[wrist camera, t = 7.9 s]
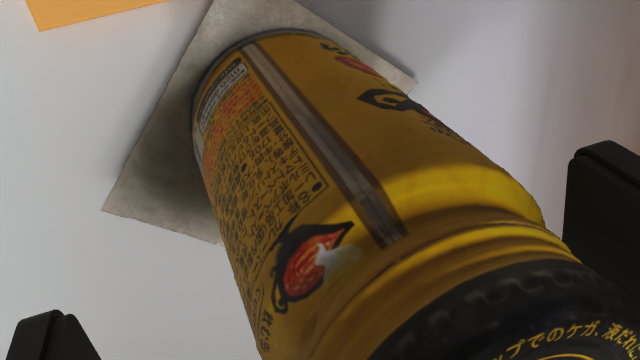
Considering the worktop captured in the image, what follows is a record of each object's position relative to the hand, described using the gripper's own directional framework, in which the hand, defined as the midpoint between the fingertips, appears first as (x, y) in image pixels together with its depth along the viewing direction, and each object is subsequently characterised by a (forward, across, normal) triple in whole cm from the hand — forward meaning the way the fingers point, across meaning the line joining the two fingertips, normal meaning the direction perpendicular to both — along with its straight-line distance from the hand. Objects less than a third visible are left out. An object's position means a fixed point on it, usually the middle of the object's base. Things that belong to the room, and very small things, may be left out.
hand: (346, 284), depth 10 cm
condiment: (+9, 0, +1) cm, 9 cm away
